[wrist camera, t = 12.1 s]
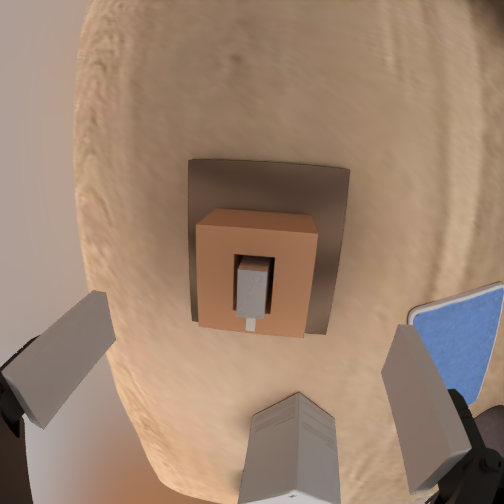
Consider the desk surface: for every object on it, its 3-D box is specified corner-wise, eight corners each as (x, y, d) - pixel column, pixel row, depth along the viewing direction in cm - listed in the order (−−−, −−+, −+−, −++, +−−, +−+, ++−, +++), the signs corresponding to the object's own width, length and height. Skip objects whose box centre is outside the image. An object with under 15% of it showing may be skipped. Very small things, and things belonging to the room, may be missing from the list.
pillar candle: (514, 404, 28) (546, 464, 14) (480, 441, 31) (503, 501, 17) (482, 405, 28) (516, 478, 14) (446, 445, 31) (467, 514, 17)
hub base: (194, 159, 23) (146, 165, 15) (346, 168, 21) (376, 178, 13) (196, 312, 27) (164, 370, 19) (324, 325, 26) (333, 390, 18)
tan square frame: (216, 208, 22) (194, 225, 17) (312, 215, 21) (318, 234, 16) (215, 293, 24) (197, 328, 19) (301, 301, 23) (303, 339, 18)
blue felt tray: (474, 398, 28) (477, 404, 27) (396, 424, 31) (398, 431, 29) (501, 277, 23) (507, 282, 21) (405, 306, 25) (409, 312, 24)
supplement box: (250, 415, 31) (233, 504, 20) (299, 389, 29) (297, 490, 17) (289, 440, 33) (283, 522, 21) (336, 419, 30) (343, 508, 18)
